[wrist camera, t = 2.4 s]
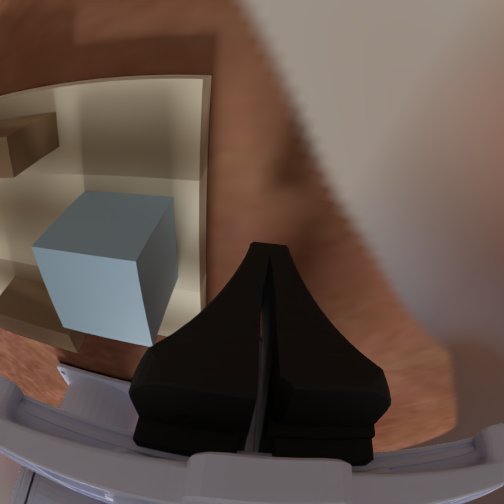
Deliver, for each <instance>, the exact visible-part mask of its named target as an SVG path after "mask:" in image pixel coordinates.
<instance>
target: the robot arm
mask: <svg viewBox="0 0 504 504" xmlns="http://www.w3.org/2000/svg"><path fill="white" fill-rule="evenodd" d="M261 309H262V336H263V368H262V379H261V390H260V401H259V411H258V421H257V431H256V439H255V448H254V452H247V451H244V449H245V445H246V440H247V436H248V434H249V430H250V426H251V422H252V417H253V413H254V409H255V404H256V400H257V392H258V379H259V338H260V315H261ZM57 368H58V370H59V372H60V373H61V375H62V376H63V378H64V379H65V381H66V382H67V384H68V385H69V386H68V388H67V391H66V393H65V395H64V398H63V400H62V403H61V405H60V407H59V408H56V407H54V406H51V405H49V404H46V403H44V402H41V401H39V400H36V399H34V398H31V397H29V396H27V395H25V394H23V392H22V391H21V389H20V388H19V387H18V386H17V385H16V384H15V383H14V382H12V381H11V380H9V379H7V378H5V377H3V376H1V375H0V453H2V454H3V455H5V456H7V457H9V458H10V459H12V460H14V461H16V462H17V463H19V464H21V465H22V466H21V469H20V472H19V475H18V478H17V481H16V484H15V488H14V491H13V494H12V498H11V501H10V504H462V503H465V502H468V501H471V500H474V499H476V498H479V497H481V496H484V495H486V494H488V493H490V492H492V491H494V490H496V489H498V488H500V487H502V486H504V423H501V424H497V425H493V426H489V427H487V428H485V429H483V430H481V431H480V432H479V433H477V434H476V435H475V436H474V437H473V438H469V439H464V440H460V441H455V442H450V443H445V444H439V445H433V446H428V447H421V448H414V449H406V450H398V451H388V452H377V453H373V447H372V438H373V437H374V436H375V429H374V424H375V423H376V422H377V421H378V420H379V419H380V418H381V417H382V415H383V414H384V413H385V412H386V411H387V410H388V408H389V407H390V405H391V397H390V391H389V387H388V384H387V380H386V378H385V375H384V372H383V370H382V369H381V368H380V367H378V366H377V365H376V364H375V363H373V362H372V361H371V360H369V359H368V358H367V357H365V356H364V355H363V354H362V353H361V352H359V351H358V350H357V349H356V348H355V347H354V346H353V345H352V344H351V343H350V342H349V341H348V340H347V339H346V338H345V337H344V336H343V335H342V334H341V333H340V332H339V331H338V330H337V329H336V328H335V327H334V326H333V324H332V323H331V322H330V321H329V320H328V318H327V317H326V316H325V314H324V313H323V312H322V310H321V309H320V308H319V306H318V305H317V303H316V302H315V300H314V299H313V297H312V295H311V294H310V292H309V291H308V289H307V287H306V285H305V284H304V282H303V280H302V278H301V276H300V274H299V272H298V270H297V268H296V266H295V264H294V262H293V259H292V257H291V254H290V251H289V248H288V247H287V246H286V245H277V244H269V243H260V242H253V243H251V244H250V247H249V250H248V252H247V254H246V256H245V258H244V260H243V261H242V263H241V265H240V266H239V268H238V269H237V271H236V272H235V274H234V275H233V277H232V278H231V279H230V280H229V282H228V283H227V284H226V286H225V287H224V288H223V289H222V290H221V292H220V293H219V294H218V295H217V296H216V297H215V298H214V299H213V300H212V301H211V302H210V303H209V304H208V305H207V306H206V307H205V308H204V309H203V310H202V311H201V312H200V313H199V314H198V315H196V316H195V317H194V318H193V319H192V320H190V321H189V322H188V323H186V324H185V325H184V326H182V327H181V328H179V329H178V330H177V331H175V332H174V333H173V334H171V335H170V336H168V337H166V338H165V339H163V340H161V341H159V342H158V343H156V344H154V345H153V346H151V347H149V348H148V349H147V351H146V352H145V354H144V356H143V357H142V359H141V361H140V363H139V365H138V367H137V369H136V371H135V373H134V376H133V379H132V382H127V381H123V380H119V379H115V378H111V377H107V376H103V375H99V374H96V373H92V372H89V371H85V370H82V369H78V368H75V367H71V366H68V365H65V364H62V363H58V365H57Z"/></svg>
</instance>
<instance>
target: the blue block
mask: <svg viewBox="0 0 504 504" xmlns="http://www.w3.org/2000/svg"><path fill="white" fill-rule="evenodd" d="M31 247H32V250H33V253H34V256H35V259H36V262H37V264H38V267H39V270H40V273H41V275H42V278H43V281H44V283H45V286H46V288H47V291H48V293H49V295H50V298H51V300H52V303H53V305H54V307H55V310H56V312H57V314H58V316H59V319H60V321H61V323H62V325H63V327H65V328H69V329H73V330H76V331H80V332H84V333H89V334H93V335H97V336H101V337H106V338H110V339H115V340H119V341H124V342H129V343H134V344H139V345H144V346H149V347H151V346H153V345H154V343H155V340H156V337H157V334H158V331H159V329H160V326H161V323H162V320H163V317H164V314H165V312H166V309H167V306H168V303H169V301H170V298H171V295H172V292H173V290H174V287H175V284H176V282H177V279H178V268H177V254H176V237H175V218H174V197H167V196H154V195H141V194H127V193H112V192H95V191H84V192H83V193H82V194H81V195H80V196H79V197H78V198H77V199H76V200H75V201H74V202H73V203H72V204H71V205H70V206H69V207H68V208H67V209H66V210H65V211H64V212H63V213H62V214H61V215H60V216H59V217H58V218H57V219H56V220H55V221H54V222H53V223H52V224H51V225H50V226H49V227H48V228H47V230H46V231H45V232H44V233H43V234H42V235H41V236H40V237H39V238H38V239H37V240H36V242H35V243H34V244H33V245H32V246H31Z"/></svg>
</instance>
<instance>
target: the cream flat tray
mask: <svg viewBox="0 0 504 504" xmlns="http://www.w3.org/2000/svg"><path fill="white" fill-rule="evenodd" d="M211 79H212V75H142V76H124V77H111V78H100V79H91V80H82V81H75V82H68V83H61V84H55V85H49V86H43V87H38V88H32V89H28V90H23V91H18V92H14V93H9V94H5V95H1V96H0V328H2V329H4V330H7V331H10V332H12V333H15V334H18V335H21V336H24V337H27V338H30V339H33V340H35V341H39V342H42V343H45V344H48V345H51V346H54V347H58V348H61V349H64V350H68V351H71V352H75V353H78V352H79V350H80V348H81V346H82V344H83V342H84V340H85V338H86V336H87V334H88V333H84V332H80V331H76V330H73V329H69V328H65V327H63V325H62V323H61V321H60V319H59V316H58V314H57V312H56V310H55V307H54V305H53V303H52V300H51V298H50V295H49V293H48V291H47V288H46V286H45V283H44V281H43V278H42V275H41V273H40V270H39V267H38V264H37V262H36V259H35V256H34V253H33V250H32V247H31V246H32V245H33V244H34V243H35V242H36V240H37V239H38V238H39V237H40V236H41V235H42V234H43V233H44V232H45V231H46V230H47V228H48V227H49V226H50V225H51V224H52V223H53V222H54V221H55V220H56V219H57V218H58V217H59V216H60V215H61V214H62V213H63V212H64V211H65V210H66V209H67V208H68V207H69V206H70V205H71V204H72V203H73V202H74V201H75V200H76V199H77V198H78V197H79V196H80V195H81V194H82V193H83V192H84V191H95V192H112V193H127V194H141V195H154V196H167V197H174V218H175V237H176V254H177V268H178V279H177V282H176V284H175V287H174V290H173V292H172V295H171V298H170V301H169V303H168V306H167V309H166V312H165V314H164V317H163V320H162V323H161V326H160V329H159V331H158V334H157V335H163V336H170V335H171V334H173V333H174V332H175V331H177V330H178V329H179V328H181V327H182V326H184V325H185V324H186V323H188V322H189V321H190V320H192V319H193V318H194V317H195V316H196V315H198V314H199V313H200V312H201V311H202V310H203V309H204V308H205V307H206V204H207V164H208V137H209V114H210V95H211Z"/></svg>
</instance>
